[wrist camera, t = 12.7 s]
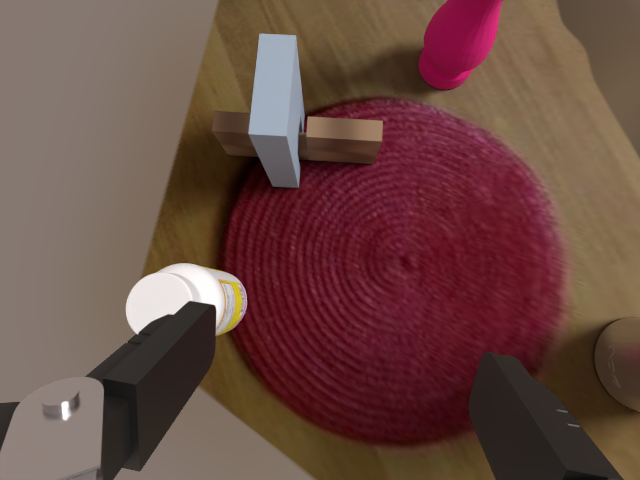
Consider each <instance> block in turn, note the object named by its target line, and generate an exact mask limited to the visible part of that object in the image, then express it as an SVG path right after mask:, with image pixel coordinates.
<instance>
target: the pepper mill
mask: <svg viewBox="0 0 640 480" xmlns="http://www.w3.org/2000/svg"><path fill="white" fill-rule="evenodd" d="M502 1H503V0H448V1H447V2H446V3H445V4H443V5H442V6H441V7H440V8H439V10H438V11H437V12H436V13H435V15H434V16H433V17H432V19H431V21H430V23H429V25H428V27H427V29H426V32H425V35H424V48H423V51H422V53H421V56H420V59H419V65H418V67H419V72H420V74H421V76H422V78H423V79H424V80H425V82H427V83H428V84H429V85H431V86H433V87H435V88H438V89H452V88H456V87H458V86H460V85H461V84H462V83H464V82H465V80H466V79H467V78H468V76H469V75H470V73H471V71H472V70H473V68H475V67H477V66H478V65H479V64H480V63H481V62H482V61H483V60H484V59H485V58H486V57H487V55H488V53H489V51H490V50H491V48H492V46H493V44H494V40H495V37H496V34H497V28H498V20H499V13H500V7H501V4H502Z"/></svg>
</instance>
